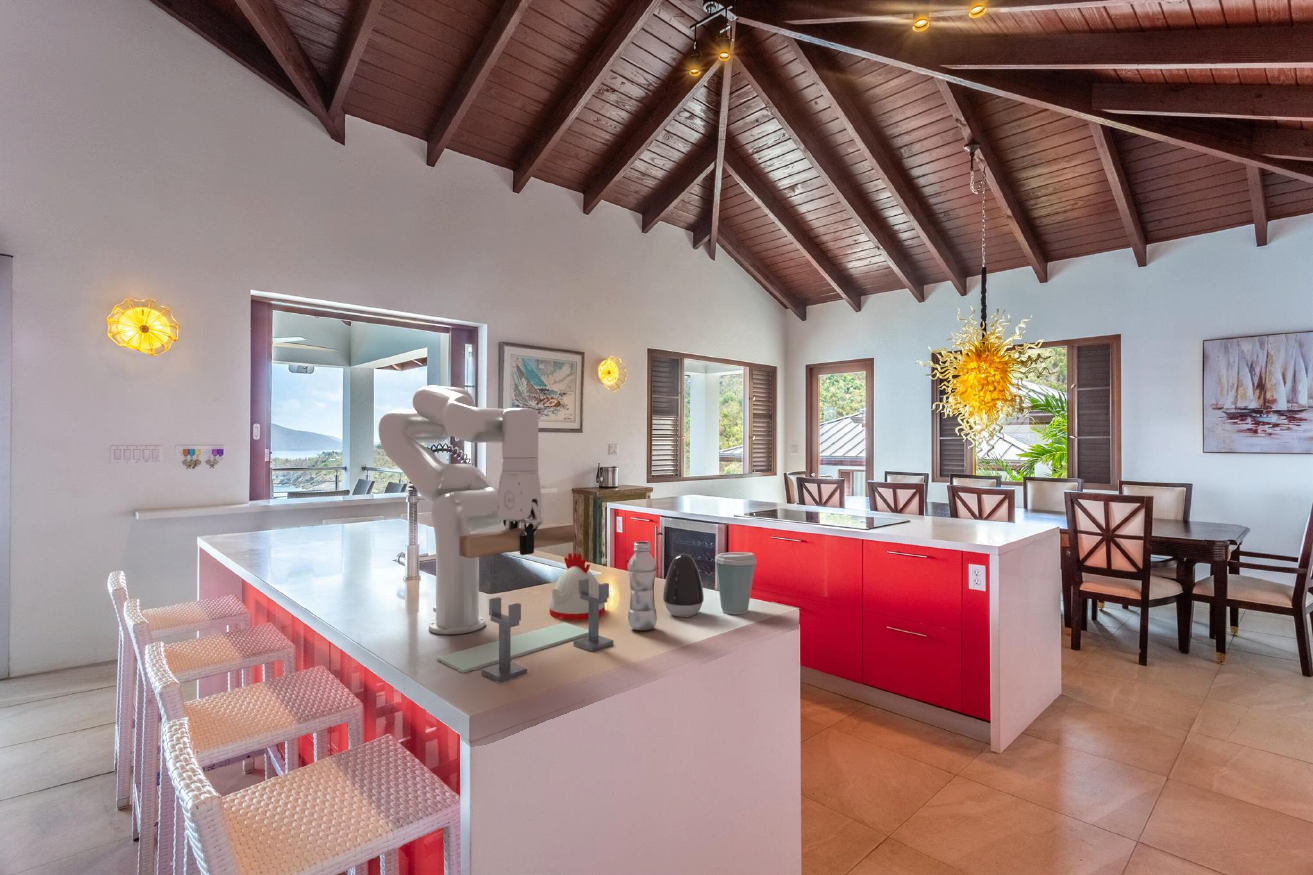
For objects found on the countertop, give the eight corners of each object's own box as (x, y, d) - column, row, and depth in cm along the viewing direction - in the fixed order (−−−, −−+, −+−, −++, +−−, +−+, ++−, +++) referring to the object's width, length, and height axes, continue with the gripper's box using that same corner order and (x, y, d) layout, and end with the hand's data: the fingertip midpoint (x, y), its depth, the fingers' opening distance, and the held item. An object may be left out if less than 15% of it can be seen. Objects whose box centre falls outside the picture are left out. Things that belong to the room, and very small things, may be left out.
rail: (459, 555, 121) (459, 535, 121) (562, 540, 140) (562, 522, 140) (470, 558, 118) (470, 537, 118) (574, 542, 137) (574, 524, 137)
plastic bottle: (653, 634, 137) (653, 545, 137) (624, 632, 138) (624, 544, 138) (659, 626, 143) (659, 540, 143) (631, 624, 144) (631, 539, 145)
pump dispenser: (711, 612, 155) (711, 552, 155) (691, 622, 146) (691, 559, 146) (676, 606, 160) (676, 548, 160) (655, 616, 151) (655, 554, 152)
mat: (437, 660, 121) (437, 657, 121) (564, 624, 144) (564, 622, 144) (463, 673, 114) (463, 670, 114) (592, 633, 137) (592, 631, 137)
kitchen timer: (576, 602, 164) (576, 547, 165) (615, 610, 156) (615, 552, 157) (538, 614, 153) (538, 554, 153) (578, 623, 145) (578, 560, 145)
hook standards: (479, 673, 114) (479, 601, 114) (592, 638, 134) (592, 576, 134) (501, 684, 109) (502, 608, 109) (615, 645, 129) (615, 581, 129)
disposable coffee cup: (705, 611, 155) (705, 552, 156) (730, 603, 163) (730, 547, 164) (740, 619, 148) (740, 558, 148) (764, 610, 156) (764, 552, 156)
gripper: (483, 466, 132) (483, 550, 132) (529, 467, 121) (529, 560, 121) (512, 465, 138) (512, 546, 137) (559, 466, 126) (559, 555, 126)
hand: (520, 551), depth 129 cm, fingers closed on rail, 4 cm apart
